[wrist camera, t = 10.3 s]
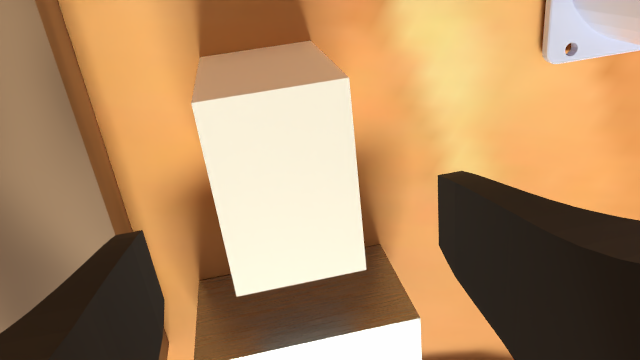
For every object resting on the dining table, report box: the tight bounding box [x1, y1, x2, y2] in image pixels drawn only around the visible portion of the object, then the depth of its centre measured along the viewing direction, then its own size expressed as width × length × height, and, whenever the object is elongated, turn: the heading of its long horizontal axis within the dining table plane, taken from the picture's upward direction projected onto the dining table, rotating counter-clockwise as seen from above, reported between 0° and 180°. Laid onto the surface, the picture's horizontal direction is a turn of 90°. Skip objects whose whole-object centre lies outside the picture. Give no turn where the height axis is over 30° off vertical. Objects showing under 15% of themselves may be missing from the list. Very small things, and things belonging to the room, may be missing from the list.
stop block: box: [194, 244, 422, 360], centre depth 20 cm, size 8×3×5 cm, turn 97°
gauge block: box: [191, 41, 366, 297], centre depth 17 cm, size 4×6×6 cm, turn 7°
